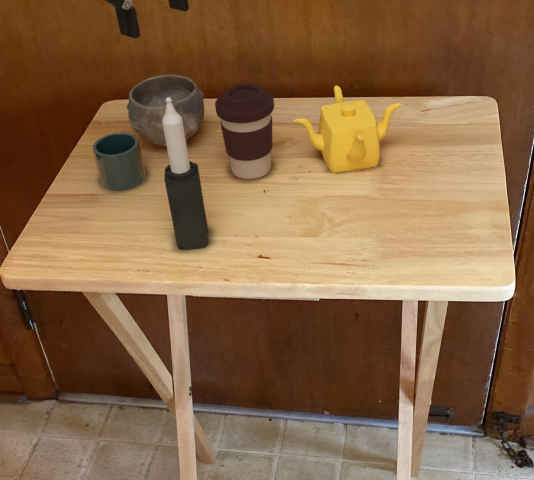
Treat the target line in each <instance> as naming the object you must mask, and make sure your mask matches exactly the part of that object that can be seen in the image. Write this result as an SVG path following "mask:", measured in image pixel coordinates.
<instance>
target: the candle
mask: <svg viewBox="0 0 534 480" xmlns="http://www.w3.org/2000/svg"><path fill="white" fill-rule="evenodd" d="M171 101H172V99H171V98H169V97H168V98H167V99H166V102H167V106H166V113H165V115H164V117H163V119H162V123H163V129H164V134H165V140H166V145H167V146H166V150H167V151H166V152H167V155H168V161H169V163H168V164H167V166H165V168H164V177H163V178H164V184H165V191H166V195H167V200H168V207H169V211H170V216H171V221H172V228H173V233H174V238H175V243H176V247H177V249H179V250H183V251H186V250H196V249H204V248H206V247H207V246H208V245H209V236H208V234H209V228H208V221H207V214H206V210H205V202H204V195H203V189H202V183H201V177H200V170H199V165H198V164H197V163H195V162H193V161H191V160H190V158H189V152H188V145H187V139H185V133H184V127H183V121H182V117H181V116H180V115H179V114H178V113H177V112H176V110H175V108H174V106H173V104H172V103H171Z"/></svg>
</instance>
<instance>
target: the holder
mask: <svg viewBox="0 0 534 480" xmlns="http://www.w3.org/2000/svg"><path fill="white" fill-rule="evenodd" d="M92 153H93V156H94V160H95V164H96V169H97V172H98V177H99V179H100V181H101V185H102V186H103V188H105V189H107V190H111V191H127V190H130V189H134V188H135V187H137V186H139V185H141V184H142V183H143V182H144V181H145V179H146V171H145V169H146V168H145V164H144V160H143V155H142V150H141V146H140V140H139V138H138V137H137V136H136V135H134V134H132V133H130V132H113V133H109V134H106V135H104V136H101V137H100V138H98V139H97V140H96V141H94V142H93V144H92Z"/></svg>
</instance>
